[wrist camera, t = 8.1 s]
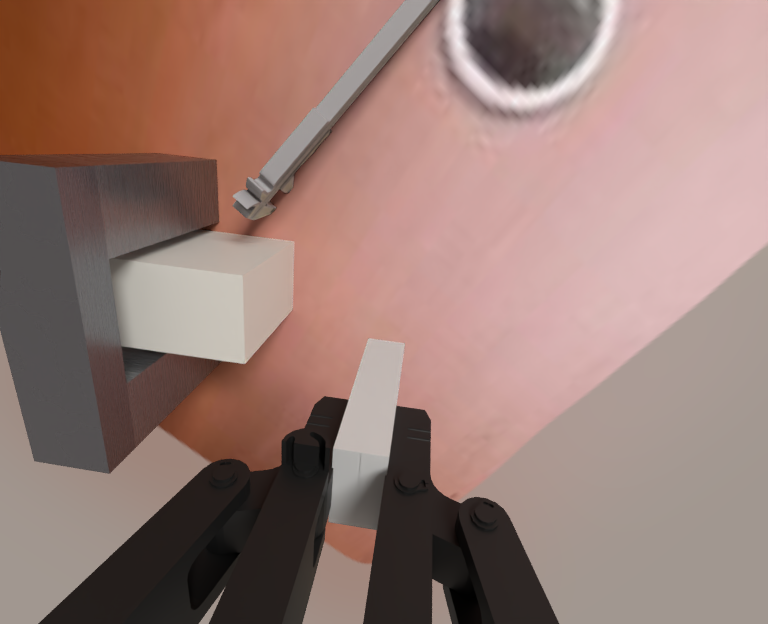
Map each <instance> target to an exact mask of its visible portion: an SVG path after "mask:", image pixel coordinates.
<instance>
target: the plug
mask: <svg viewBox="0 0 768 624" xmlns="http://www.w3.org/2000/svg"><path fill="white" fill-rule="evenodd" d="M109 265H110V272H111V279H112V286H113V293H114V300H115V306H116V313H117V320H118V327H119V334H120V341H121V346H124V347H131V348H138V349H145V350H152V351H158V352H165V353H172V354H179V355H186V356H193V357H200V358H207V359H214V360H220V361H227V362H234V363H241V364H245V363H246V362H247V361H248V360H249V359H250V358H251V357H252V355H253V354H254V353H255V352H256V351H257V350H258V349H259V347H260V346H261V345H262V344H263V343H264V342H265V341H266V339H267V338H268V337H269V336H270V335H271V334H272V333H273V331H274V330H275V329H276V328H277V327H278V326H279V325H280V323H281V322H282V321H283V320H284V319H285V318H286V317H287V315H288V314H289V313H290V312H291V311H292V310H293V281H294V241H288V240H280V239H272V238H264V237H256V236H248V235H240V234H232V233H224V232H216V231H208V230H200V229H197V230H194V231H191V232H188V233H185V234H182V235H179V236H176V237H173V238H170V239H167V240H164V241H161V242H159V243H156V244H153V245H150V246H147V247H144V248H141V249H138V250H135V251H132V252H129V253H126V254H123V255H120V256H117V257H114V258H111V259H109Z"/></svg>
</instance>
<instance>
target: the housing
mask: <svg viewBox="0 0 768 624" xmlns="http://www.w3.org/2000/svg"><path fill="white" fill-rule="evenodd" d="M218 222H219V210H218V187H217V164H216V160H212V159H203V158H194V157H186V156H177V155H168V154H160V153H134V154H53V155H0V331H1V335H2V338H3V343H4V346H5V350H6V354H7V358H8V362H9V365H10V369H11V373H12V377H13V381H14V385H15V389H16V392H17V396H18V400H19V404H20V407H21V412H22V415H23V419H24V423H25V427H26V431H27V435H28V438H29V442H30V446H31V449H32V454H33V458H34V461H37V462H43V463H49V464H55V465H61V466H67V467H73V468H79V469H85V470H91V471H97V472H103V473H111V472H112V471H113V470H114V468H116V467H117V466H118V465H119V464H120V463H121V462H122V461H123V460H124V459H125V458H126V457H127V455H129V454H130V453H131V452H132V451H133V450H134V449H135V448H136V447H137V446H138V445H139V444H140V443H141V441H143V440H144V438H146V437H147V436H148V435H149V434H150V433H151V432H152V431H153V429H155V428H156V427H157V426H158V425H159V424H160V423H161V422H162V421H163V420H164V419H165V418H166V417H167V416H168V415H169V414H170V413H171V412H172V411H173V410H174V409H175V408H176V407H177V406H178V405H179V404H180V403H181V402H182V401H183V400H184V399H185V398H186V397H187V396H188V395H189V394H190V393H191V392H192V391H193V390H194V389H195V388H196V387H197V386H198V385H199V384H200V383H201V382H202V381H203V380H204V379H205V378H206V377H207V376H208V375H209V374H210V373H211V372H212V371H213V370H214V369H215V368H216V367H217V366H218V365H219V364H220V363H221V362H222V361H220V360H214V359H207V358H200V357H193V356H186V355H179V354H172V353H165V352H158V351H152V350H145V349H138V348H131V347H124V346H121V341H120V334H119V327H118V320H117V313H116V306H115V300H114V293H113V286H112V279H111V272H110V265H109V259H111V258H114V257H117V256H120V255H123V254H126V253H129V252H132V251H135V250H138V249H141V248H144V247H147V246H150V245H153V244H156V243H159V242H161V241H164V240H167V239H170V238H173V237H176V236H179V235H182V234H185V233H188V232H191V231H194V230H197V229H200V228H203V227H206V226H209V225H212V224H215V223H218Z"/></svg>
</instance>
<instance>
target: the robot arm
mask: <svg viewBox="0 0 768 624" xmlns="http://www.w3.org/2000/svg"><path fill="white" fill-rule="evenodd" d="M404 347H405V343H399V342H392V341H385V340H377V339H370V338H368V341H367V345H366V348H365V351H364V354H363V357H362V360H361V363H360V366H359V370H358V373H357V376H356V379H355V382H354V385H353V388H352V391H351V394H350V398H349V400H346V399H340V398H333V397H326V396H324V397H323V398H322V399H321V400H320V401H318V402H317V403H316V404H315V405H314V408H313V410H312V412H311V415H310V417H309V419H308V421H307V424H306V426H305V428H304V429H299V430H295V431H293V432H291V433H289V434H287V435H286V436H285V437H284V439H283V440H282V465H281V466H279V467H276V468H274V469H269V470H263V471H253V472H250V470H249V468H248V466H247V465H246V464H245V463H243V462H242V461H240V460H235V459H224V460H219V461H216V462H213V463H211V464H210V465H208V466H207V467H205V468H204V469H203V470H201V471H200V472H199V473H198V474H197V475H196V476H195V477H194V478H193V479H192V480H191V481H190V482H189V483H188V484H187V485H186V486H184V487H183V488H182V489H181V490H180V491H179V492H178V493H177V494H176V495H175V496H174V497H173V498H172V499H171V500H170V501H169V502H167V503H166V504H165V505H164V506H163V507H162V508H161V509H160V510H159V511H158V512H157V513H156V514H155V515H154V516H153V517H151V518H150V519H149V520H148V521H147V522H146V523H145V524H144V525H143V526H142V527H141V528H140V529H139V530H138V531H137V532H135V534H133V535H132V536H131V537H130V538H129V539H128V540H127V541H126V542H125V543H124V544H123V545H122V546H121V547H120V548H118V549H117V550H116V551H115V552H114V553H113V554H112V555H111V556H110V557H109V558H108V559H107V560H106V561H105V562H104V563H103V564H102V565H100V566H99V567H98V568H97V569H96V570H95V571H94V572H93V573H92V574H91V575H90V576H89V577H88V578H87V579H85V581H83V582H82V583H81V584H80V585H79V586H78V587H77V588H76V589H75V590H74V591H73V592H72V593H71V594H69V595H68V596H67V597H66V598H65V599H64V600H63V601H62V602H61V603H60V604H59V605H58V606H57V607H56V608H55V609H54V610H52V612H50V614H48V615H47V616H46V617H45V618H44V619H43V620H42V621H41V622H40V623H39V624H199V622H200V621H201V619H202V618H203V617H204V615H205V614H206V613H207V611H208V610H209V608H210V607H211V605H212V604H213V603H214V602H215V600H216V599H217V598H218V596H219V595H220V593H221V592H222V590H223V589H224V588H225V589H224V592H223V594H222V596H221V598H220V601H219V603H218V605H217V607H216V609H215V611H214V614H213V616H212V618H211V620H210V622H209V624H302V622H303V618H304V615H305V611H306V607H307V603H308V600H309V596H310V592H311V588H312V585H313V581H314V577H315V573H316V569H317V566H318V562H319V558H320V555H321V551H322V547H323V543H324V540H325V526H326V523H327V519H328V515H329V522H332V523H338V524H344V525H350V526H356V527H362V528H368V529H374V530H377V533H376V540H375V547H374V554H373V560H372V567H371V574H370V581H369V588H368V595H367V602H366V608H365V615H364V622H363V624H432V579H434V580H436V581H438V582H439V583H441V584H443V590H444V594H445V597H446V601H447V606H448V609H449V613H450V617H451V621H452V624H559V623H558V620H557V618H556V616H555V614H554V612H553V610H552V608H551V605H550V603H549V601H548V599H547V597H546V595H545V593H544V590H543V588H542V586H541V584H540V582H539V580H538V578H537V576H536V574H535V571H534V569H533V567H532V565H531V563H530V560H529V558H528V556H527V554H526V552H525V550H524V548H523V546H522V543H521V541H520V539H519V537H518V535H517V533H516V530H515V528H514V526H513V524H512V522H511V520H510V518H509V516H508V515H507V513H506V512H505V510H504V509H503V508H502V507H501V506H499V505H498V504H497V503H496V502H493V501H491V500H489V499H486V498H480V497H474V498H469V499H467V500H465V501H464V502H463V503H459V502H456V501H454V500H452V499H450V498H448V497H446V496H444V495H443V494H442V493H441V492H439V491H438V490H437V489H436V487H435V486H434V485H433V482H432V480H431V476H430V445H431V442H430V440H431V433H430V432H431V420H430V418H429V416H428V415H427V413H426V411H425V410H421V409H414V408H407V407H400V406H397V399H398V391H399V384H400V376H401V369H402V361H403V354H404Z"/></svg>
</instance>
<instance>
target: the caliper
mask: <svg viewBox="0 0 768 624" xmlns="http://www.w3.org/2000/svg"><path fill="white" fill-rule="evenodd" d="M438 1H439V0H405V1H404V2H403V4H402V5H401V6H400V7H399V8H398V10H397V11H396V12H395V13H394V14H393V16H392V17H391V18H390V19H389V20H388V22H387V23H386V24H385V25H384V26H383V28H382V29H381V30H380V31H379V32H378V34H377V35H376V36H375V37H374V38H373V40H372V41H371V42H370V43H369V45H368V46H367V47H366V48H365V49H364V51H363V52H362V53H361V54H360V55H359V57H358V58H357V59H356V60H355V61H354V63H353V64H352V65H351V66H350V67H349V69H348V70H347V71H346V72H345V73H344V75H343V76H342V77H341V78H340V79H339V81H338V82H337V83H336V84H335V86H334V87H333V88H332V89H331V90H330V92H329V93H328V94H327V95H326V96H325V98H324V99H323V100H322V101H321V102H320V104H319V105H318V106H317V107H316V108H313V109H312V110H311V111H310V112H309V113H308V115H307V116H306V117H305V118H304V119H303V121H302V122H301V123H300V124H299V125H298V127H297V128H296V129H295V130H294V131H293V133H292V134H291V135H290V136H289V137H288V139H287V140H286V141H285V142H284V143H283V145H282V146H281V147H280V148H279V149H278V151H277V152H276V153H275V154H274V155H273V157H272V158H271V159H270V160H269V161H268V163H267V164H266V165H265V166H264V167H263V169H262V170H261V171H260V176H259V177H258V178H257V179H255V180H253V179H252V178H250V177H248V178H247V182H246V187H247V188H248V190H242V191H239V192H237V193H236V194H234V195H233V197H234V198H235V199H236V200H237V201H236V202H235V203H234V204H233V207H234V208H235V209H237V210H238V211H239V212H240V213H241V214H242V215H243V216H244V217H246V218H248V219H251V220H256V219H259V218H262V217H264V216H267V215H269V214H271V213H272V212H273V211H274V210H275V209H276V207H275V206H274V205H273V204H272V203H271V202H270V200H271V199H272V197H273V196H274V195H275V194H276V193H277V192H278V190H279V189H280V190H281V191H283V192H284V193H289V192H290V191H291V189H292V188H293V184H294V174H295V172H296V171H297V170H298V169H299V168H300V166H301V165H302V164H304V163H305V162H306V161H307V160H308V159H309V157H310V156H311V155H312V154H313V153H314V152H315V151H316V150H317V148H318V147H319V146H320V145H321V143H322V142H323V141H324V140H325V139H326V138H327V137H328V136H329V135H330V133H331V132H332V130H331V128H332V127H333V125H334V124H335V123H336V122H337V121H338V120H339V118H340V117H341V116H342V115H343V114H344V112H345V111H346V110H347V109H348V108H349V107H350V105H351V104H352V103H353V102H354V101H355V99H356V98H357V97H358V96H359V95H360V94H361V92H362V91H363V90H364V89H365V88H366V86H367V85H368V84H369V83H370V82H371V80H372V79H373V78H374V77H375V76H376V75H377V73H378V72H379V71H380V70H381V69H382V67H383V66H384V65H385V64H386V63H387V62H388V60H389V59H390V58H391V57H392V56H393V54H394V53H395V52H396V51H397V50H398V49H399V47H400V46H401V45H402V44H403V43H404V41H405V40H406V39H407V38H408V37H409V36H410V34H411V33H412V32H413V31H414V30H415V28H416V27H417V26H418V25H419V24H420V23H421V21H422V20H423V19H424V18H425V17H426V15H427V14H428V13H429V12H430V11H431V10H432V8H433V7H434V6H435V5H436V4H437V2H438Z"/></svg>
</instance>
